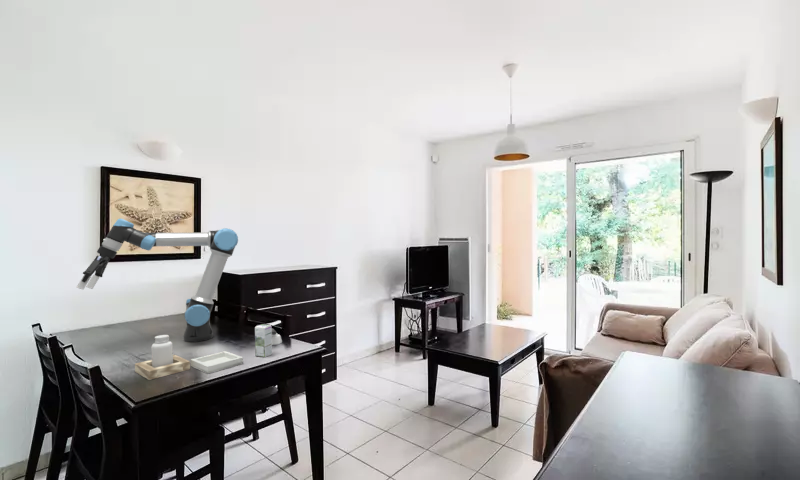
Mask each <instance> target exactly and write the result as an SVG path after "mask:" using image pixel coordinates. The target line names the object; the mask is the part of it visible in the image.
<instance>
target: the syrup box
mask: <svg viewBox="0 0 800 480" xmlns="http://www.w3.org/2000/svg"><path fill="white" fill-rule="evenodd" d="M272 329H273V328H272V325H271V324H257V325H256V326H255V327H254V339H255V340H254V344H255V346H254V347H255V351H254V352H255V357H262V358H267V357H269V356H271V355H273V345H272Z"/></svg>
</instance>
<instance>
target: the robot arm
mask: <svg viewBox="0 0 800 480" xmlns="http://www.w3.org/2000/svg"><path fill="white" fill-rule="evenodd" d="M134 226H135V224H134V223H133V222H131V221H128V220H126V219H124V218H118V219H117V220H116V221H115V222H114V224H113V225H112V227H111V229H110V230H109V232H108V233H107V235H106V237H105V238H103V240H102V241H103V242H102V243H101V246H99V248H98V249H97V251H96V252H97V254H99V255H97V256H95V258H94V259H93V261H92V262H91V263H90V264H89V265H88V267H87V268H86V269H85V271H83V272H82V274H83V276H82V278H81V279H80V280H79V283H78V284H77V285H76V288H78V289H79V290H80V289H81V290H82V291H83V290H84V289H85V288H88V289H91V290H93V289H94V287H95V286H96V284H97V283H98V281H99V279H100V278H103V274H104V272H105V271H106V268H107V267H108V266H107V265H108V263H109V262H110V261H111V259H115V257H116V256H117V254H118V252H119V251H120V249H121V248H122V246H123V244H124V243H125V242H126V243H128V244H131V245H133V246H136V247H138V248H140V249H142V250H145V251H147V252H149V251H151V250H152V249H153V247H205V246H206V247H207V246H208V248H209V250H210V252H211V253H210V255H209V258H208V262H207V263H206V267H205V270H204V272H203V274H202V277H201V280H200V283H199V285H198V288H197V290H196V292H195V295H193V296H191V297H190V298H187V299H186V300H185V307H186V309H185V312H184V319H185V321H186V327H185V331H184V333H183V336H182V337H183V338H182V339H183V341H184V342H188V343H189V342H190V343H194V342H203V341H207V340H212V339H213V338H214V332H213V328H212V326H211V323H210V317H211V312H212V310H213V307H214V303H215V302H214V301H213V298H214V296H215V293H216V290H217V288H218V285H219V282H220V280H221V277H222V274H223V272H224V269H225V266H226V263H227V261H228V259H229V258H230V257H232V256H233V253H234V251H235V248H236V246H238V242H239V237H238V233H236V232H235V231H234V230H233V229H230V228H225V227H224V228H221V229H217V230H208V231H207V232H143V231H141V230H138V229H137V228H135V227H134Z"/></svg>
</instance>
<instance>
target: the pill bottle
mask: <svg viewBox="0 0 800 480" xmlns="http://www.w3.org/2000/svg"><path fill="white" fill-rule="evenodd" d="M150 351H151V352H150V353H151V360H152V367H153V368H156V367H160V366H164V365H169V364H173V355H174V346H173V342H172V341H170V336H169V335H168V334H160V335H156V336H154V343H152V345H151V348H150Z"/></svg>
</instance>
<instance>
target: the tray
mask: <svg viewBox="0 0 800 480" xmlns="http://www.w3.org/2000/svg"><path fill="white" fill-rule="evenodd" d="M240 365H244V357H243V356H241V355H238V354H235V353H232V352H229V351H226V350H225V351H224V350H223V351H221V352H215V353H212V354H207V355H204V356H200V357H195V358H191V359H190V368H191V367H192V368H194V369H197V370H199V371H200V372H203V373H205V374H207V375H208V374H211V373H215V372H219V371H222V370H223V371H224V370H226V369H231V368H234V367H237V366H240Z"/></svg>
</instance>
